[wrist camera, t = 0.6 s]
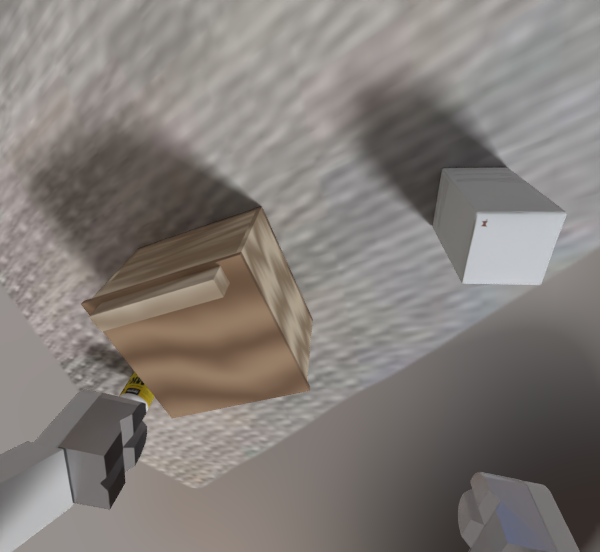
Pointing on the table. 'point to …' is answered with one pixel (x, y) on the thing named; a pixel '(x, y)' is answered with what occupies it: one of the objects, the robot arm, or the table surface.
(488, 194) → the supplement box
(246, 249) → the box
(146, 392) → the supplement bottle
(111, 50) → the table surface
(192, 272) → the lid
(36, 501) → the robot arm
